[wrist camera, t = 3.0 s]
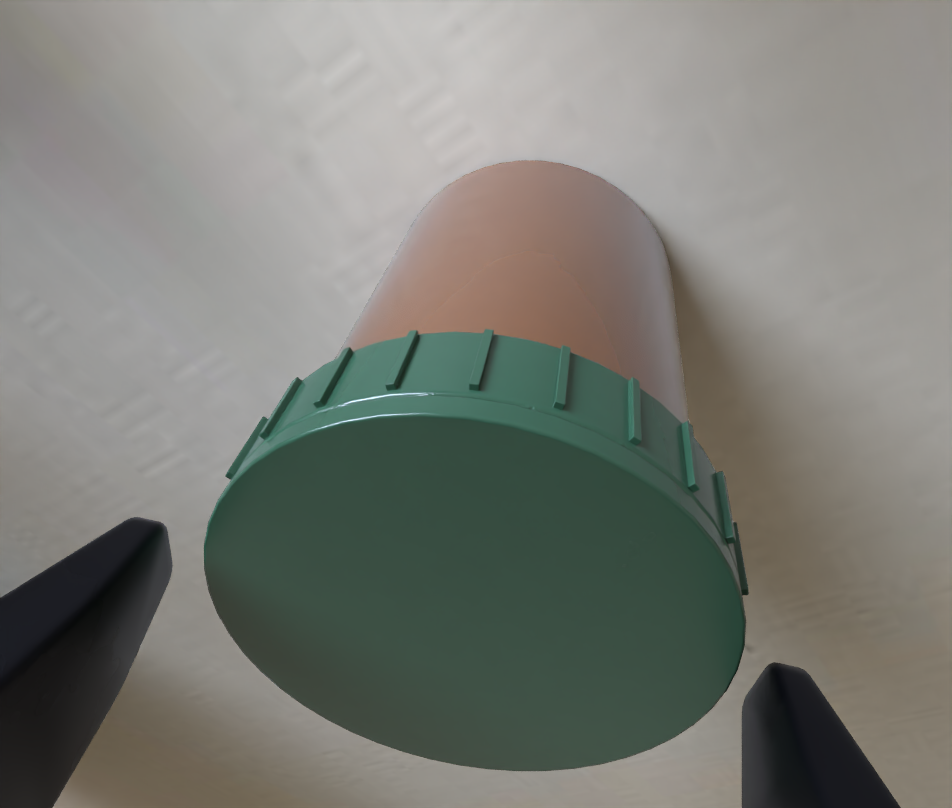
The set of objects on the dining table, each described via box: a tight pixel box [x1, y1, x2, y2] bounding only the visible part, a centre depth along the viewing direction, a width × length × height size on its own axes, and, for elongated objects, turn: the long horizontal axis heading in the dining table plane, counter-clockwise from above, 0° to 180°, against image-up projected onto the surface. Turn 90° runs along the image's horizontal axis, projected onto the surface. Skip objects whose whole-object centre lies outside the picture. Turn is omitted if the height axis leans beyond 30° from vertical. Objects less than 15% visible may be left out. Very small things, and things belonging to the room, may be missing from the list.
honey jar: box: [334, 161, 689, 423], centre depth 13 cm, size 6×6×8 cm
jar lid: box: [204, 329, 749, 771], centre depth 10 cm, size 7×7×2 cm
